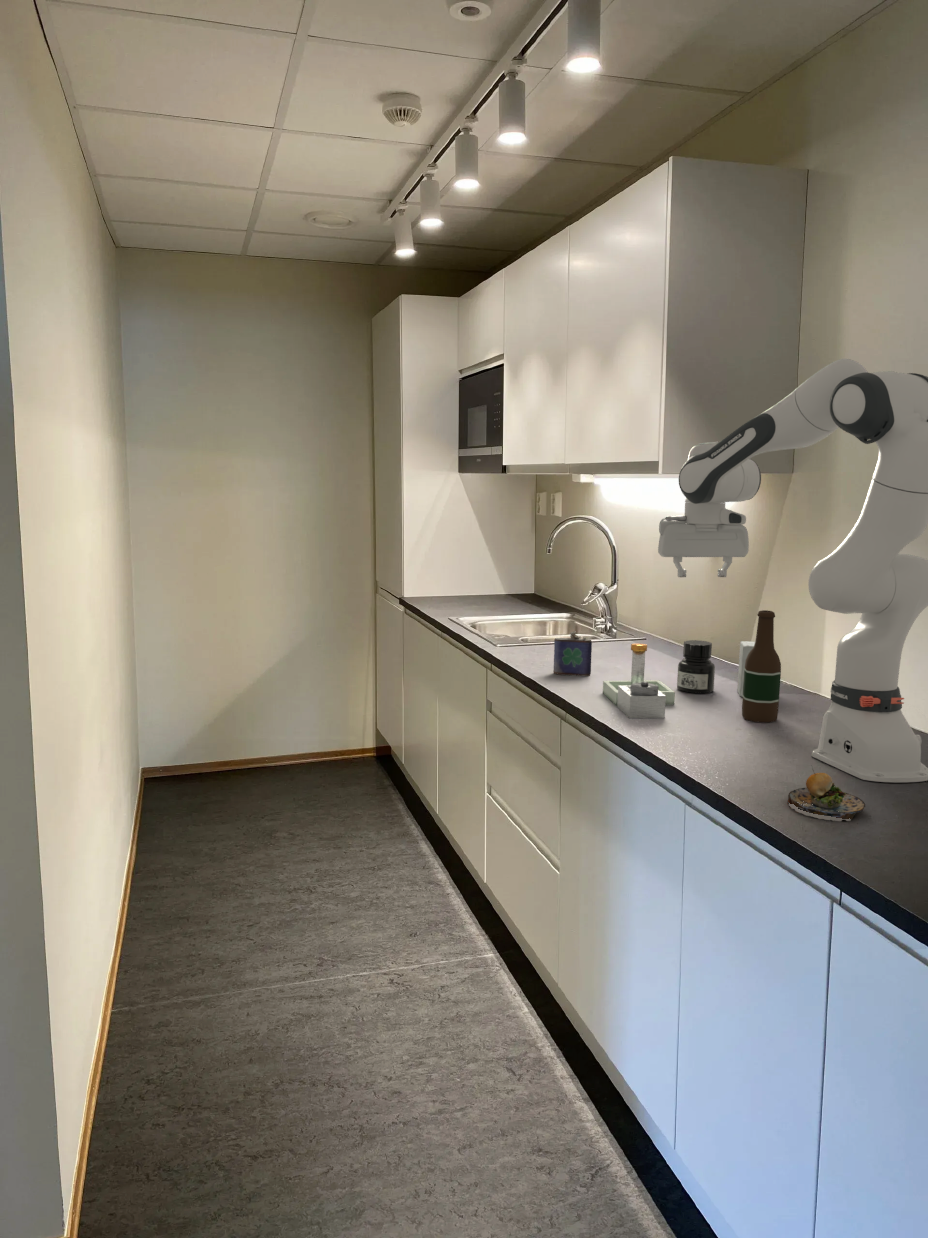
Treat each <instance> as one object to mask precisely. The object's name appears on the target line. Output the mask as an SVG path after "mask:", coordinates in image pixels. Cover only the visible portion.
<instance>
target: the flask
mask: <svg viewBox="0 0 928 1238" xmlns="http://www.w3.org/2000/svg"><path fill="white" fill-rule="evenodd" d="M576 633H577V631H576V630H575V631H570V632H569V634H570V635H569V637H555V638H554V640H553V641H554V646H553V647H554V650H553V652H554V653H553V675H560V676H562V675H564V676H576V677H577V676H582V677H583V676H584V677H590V676H591V673H592V652H593V650H592V649H593V648H592V646H593V645H592V644H593V642H592V639H590V638H586V637H585V636H579V635H577V634H576Z"/></svg>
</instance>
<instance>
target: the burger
mask: <svg viewBox="0 0 928 1238" xmlns="http://www.w3.org/2000/svg"><path fill="white" fill-rule="evenodd" d="M811 767H813V765H811ZM812 771H813V773H812V774H811V775H809V776H808V777H807V779H806V781H805V787H801V788H797V789H793V790H790V791H789V793H788V797H787V798H788V799H787V801H788V802H789V803H790V804H794V805H795V806H796V807H798V809H800V810H803V811H806V812H809V813H813V814H818V815H824V816H831V817H836V818H842V819H849V818H850V819H852V820H853V818H854V817H855V814H857V813H858V814H859V813H861V812H863V811H864V810H865V808H866V804H865V802H864V800H863V799H861V798H860V797H858V796H855V795H852V794H850V793H847V792H844V791H842V789H841V788H840V787H839V786H836V784H835V782H833V778H832V776H830V775H829V774H828V773H826V772H815V770H814V769H812ZM803 801H804V802H803ZM797 802H799V803H800V804H799V803H797ZM806 803H807V804H806ZM801 804H802V805H801ZM803 804H806V805H804V806H803ZM812 804H813V805H812ZM838 811H839V812H838Z"/></svg>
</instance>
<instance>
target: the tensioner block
mask: <svg viewBox="0 0 928 1238" xmlns="http://www.w3.org/2000/svg"><path fill="white" fill-rule="evenodd" d="M665 702H666V696H665V695H664V694H663V693H662V692H660V691H659V690H658V686H657V685H655V684H650V683H648V682H641V683H634V684H631V686H618V701H617V705H616V706H617V707H616V708H618V709H619V710H620V711H621V712H622V713H623V714H624V715H625V716H626V717H627V718H628V717H629V718H628V719H666V705H665Z"/></svg>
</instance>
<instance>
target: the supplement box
mask: <svg viewBox="0 0 928 1238" xmlns="http://www.w3.org/2000/svg"><path fill="white" fill-rule="evenodd" d="M754 644H755V641H749V640H747V641H743V640H742V641H740V643H739V656H738V657H739V659H738V670H737V671H738V672H737V673H738V675H737V689H736V691H737V693H738V694H739V697H741V698H743V684H744V669H745V661H746V658H747V656H748V654H749V652H750V651H751V650H752V648H753V647H754Z"/></svg>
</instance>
